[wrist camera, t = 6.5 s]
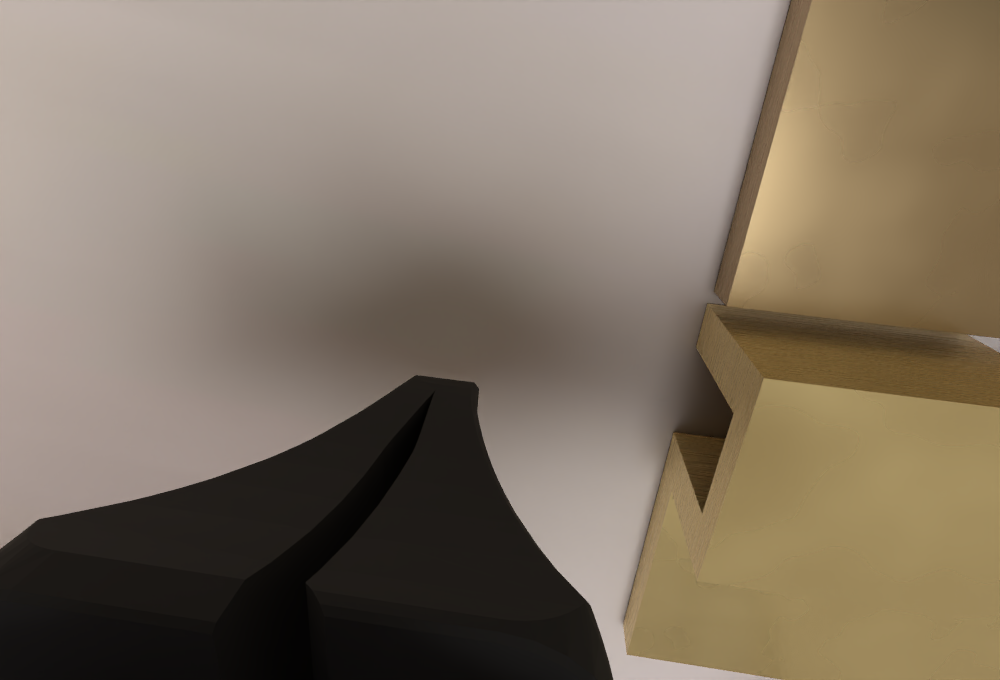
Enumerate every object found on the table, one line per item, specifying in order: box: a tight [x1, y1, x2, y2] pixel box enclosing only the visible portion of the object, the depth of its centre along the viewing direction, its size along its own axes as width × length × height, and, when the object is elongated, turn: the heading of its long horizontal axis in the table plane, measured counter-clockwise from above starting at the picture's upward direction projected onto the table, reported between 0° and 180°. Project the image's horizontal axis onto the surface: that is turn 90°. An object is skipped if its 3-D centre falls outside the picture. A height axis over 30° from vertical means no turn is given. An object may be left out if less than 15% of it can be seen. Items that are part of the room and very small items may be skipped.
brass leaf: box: [623, 303, 1000, 680], centre depth 12 cm, size 12×11×4 cm
